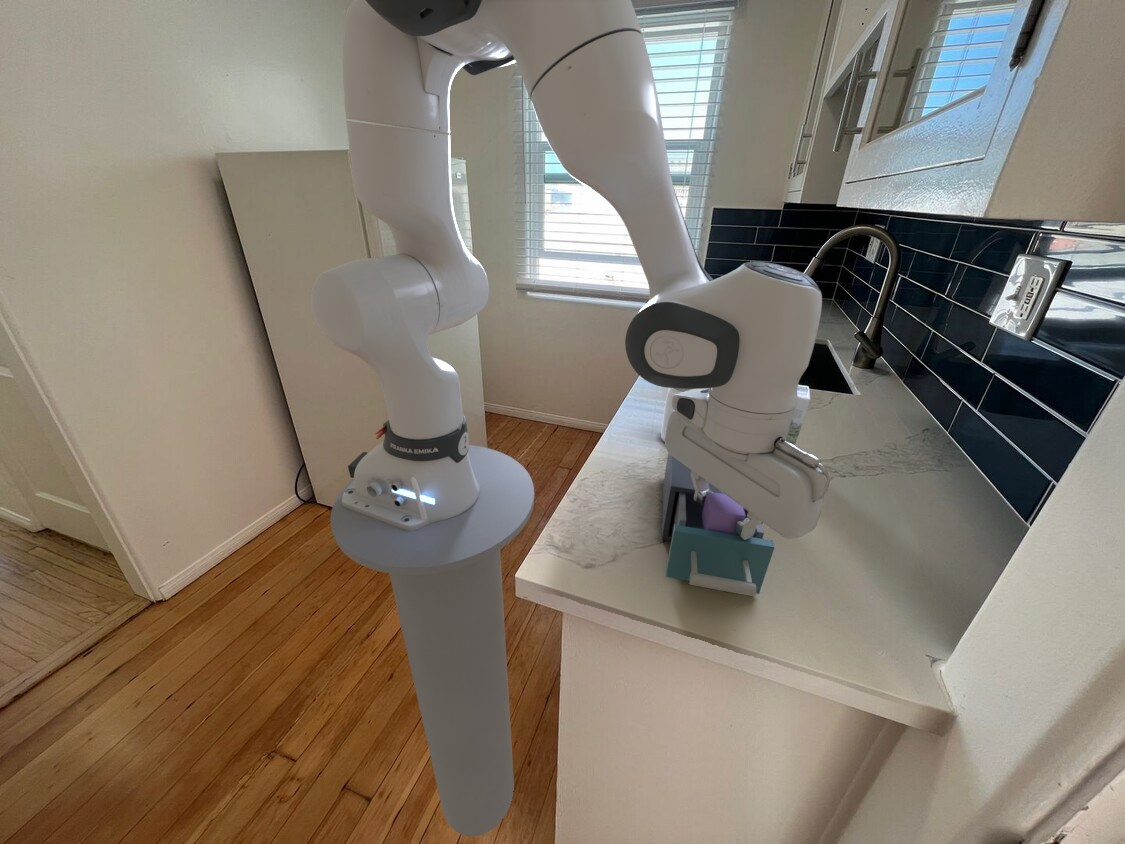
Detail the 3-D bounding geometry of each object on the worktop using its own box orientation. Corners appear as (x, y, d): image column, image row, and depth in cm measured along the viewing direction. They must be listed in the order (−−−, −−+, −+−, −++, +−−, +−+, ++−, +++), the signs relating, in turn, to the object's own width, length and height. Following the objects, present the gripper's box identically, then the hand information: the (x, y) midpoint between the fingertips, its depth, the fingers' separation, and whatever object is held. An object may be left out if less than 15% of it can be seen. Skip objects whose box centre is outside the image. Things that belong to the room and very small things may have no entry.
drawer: (766, 628, 51) (783, 579, 47) (665, 608, 53) (674, 560, 49) (744, 523, 66) (756, 480, 63) (667, 511, 68) (674, 469, 65)
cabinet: (752, 555, 62) (769, 500, 57) (661, 539, 64) (670, 486, 60) (739, 493, 74) (752, 444, 70) (663, 482, 77) (671, 434, 72)
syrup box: (788, 453, 86) (809, 384, 79) (788, 468, 81) (811, 397, 75) (757, 446, 88) (775, 379, 81) (755, 460, 83) (774, 390, 77)
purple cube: (705, 537, 54) (711, 511, 53) (701, 516, 58) (706, 491, 56) (738, 541, 54) (745, 515, 52) (732, 519, 57) (739, 495, 56)
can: (692, 450, 86) (703, 394, 81) (659, 444, 88) (667, 389, 82) (693, 434, 92) (703, 381, 86) (662, 429, 93) (669, 377, 88)
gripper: (855, 458, 42) (813, 564, 48) (701, 382, 58) (685, 470, 64) (813, 475, 39) (774, 585, 46) (663, 391, 55) (650, 481, 62)
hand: (721, 517), depth 55 cm, fingers closed on purple cube, 5 cm apart
